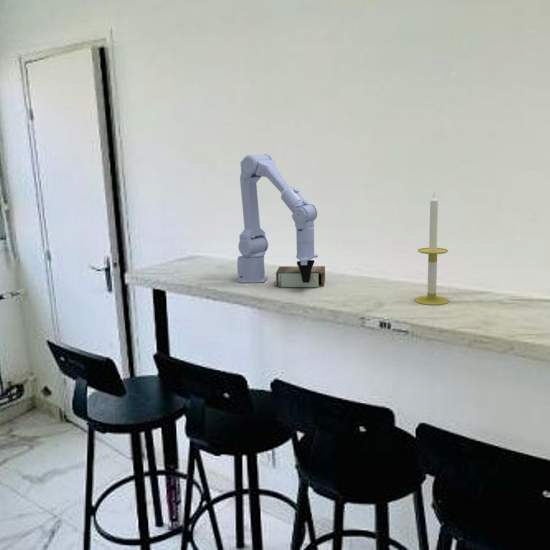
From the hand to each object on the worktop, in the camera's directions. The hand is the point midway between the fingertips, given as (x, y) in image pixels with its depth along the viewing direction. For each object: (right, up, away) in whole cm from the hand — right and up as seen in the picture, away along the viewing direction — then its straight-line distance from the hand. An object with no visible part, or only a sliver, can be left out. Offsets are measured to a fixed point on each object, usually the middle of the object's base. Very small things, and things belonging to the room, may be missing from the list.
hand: (306, 282), depth 199 cm
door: (-2, -2, +2) cm, 3 cm away
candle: (+37, -5, -20) cm, 42 cm away
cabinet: (-1, 0, +8) cm, 8 cm away
